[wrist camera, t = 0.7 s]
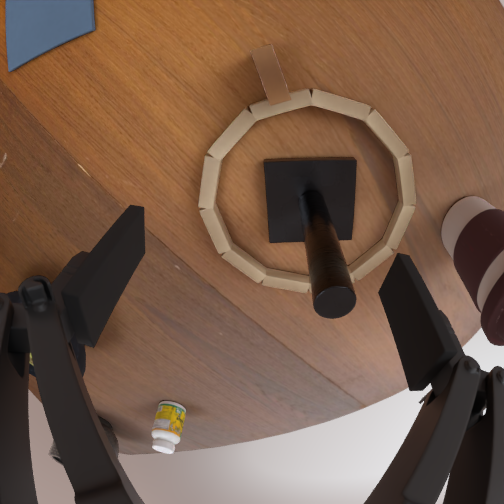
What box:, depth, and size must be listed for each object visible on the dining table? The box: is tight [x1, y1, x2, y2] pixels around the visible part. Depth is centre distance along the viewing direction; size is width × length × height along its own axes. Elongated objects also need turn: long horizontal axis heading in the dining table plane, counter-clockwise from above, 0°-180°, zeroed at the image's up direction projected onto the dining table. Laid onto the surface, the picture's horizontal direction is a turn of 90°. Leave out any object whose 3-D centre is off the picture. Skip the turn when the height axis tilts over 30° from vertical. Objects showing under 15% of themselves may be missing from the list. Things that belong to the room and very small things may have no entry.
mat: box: [6, 0, 95, 72], centre depth 16 cm, size 12×12×1 cm
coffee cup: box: [441, 196, 504, 346], centre depth 21 cm, size 10×10×15 cm
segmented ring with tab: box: [198, 44, 416, 293], centre depth 25 cm, size 24×20×4 cm
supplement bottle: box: [152, 401, 186, 454], centre depth 48 cm, size 5×5×10 cm
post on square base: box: [264, 157, 357, 319], centre depth 22 cm, size 8×8×14 cm
